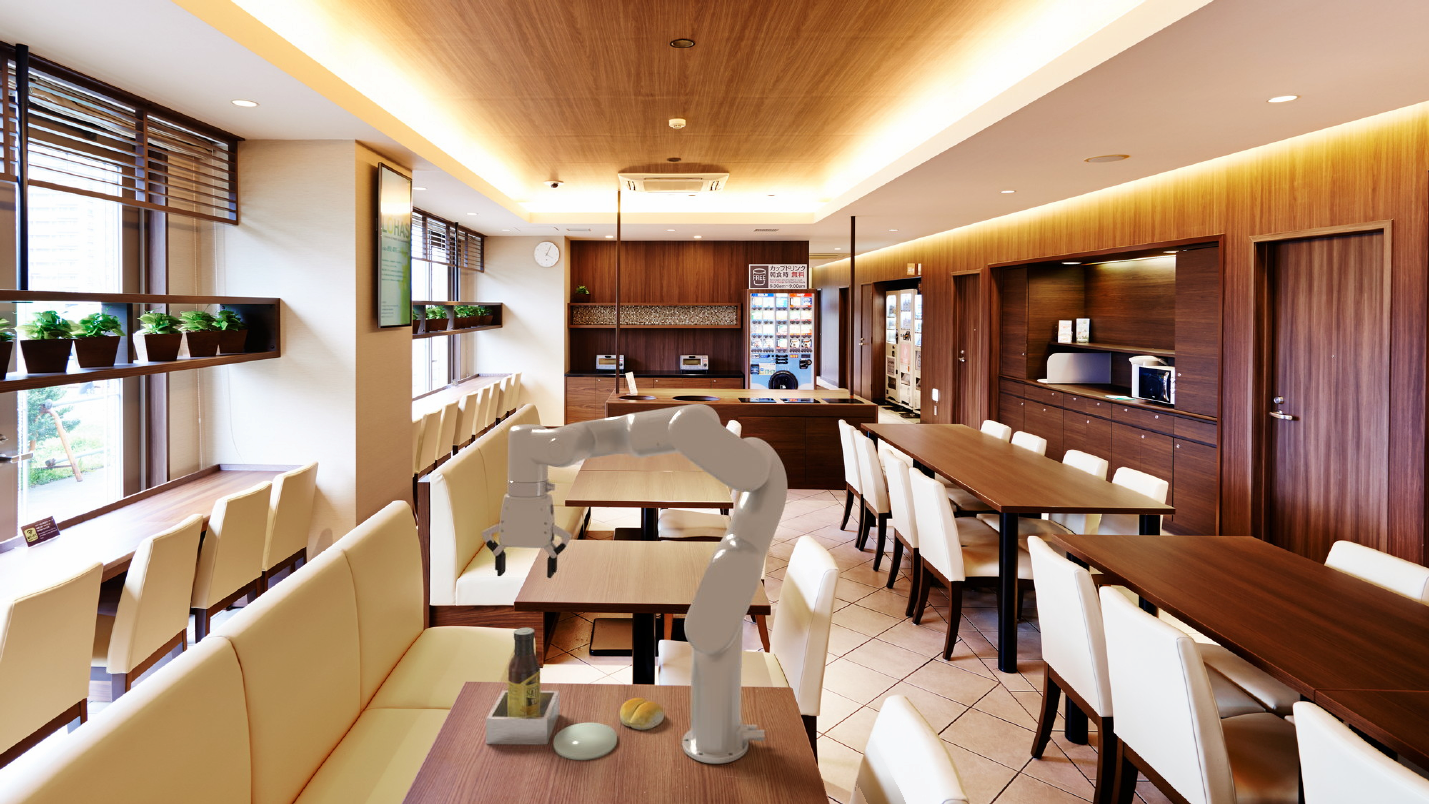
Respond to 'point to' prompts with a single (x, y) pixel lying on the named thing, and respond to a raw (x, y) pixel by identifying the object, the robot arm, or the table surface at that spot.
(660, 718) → the bread roll
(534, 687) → the sauce bottle
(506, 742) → the square storage bin
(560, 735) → the saucer
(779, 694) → the table surface
